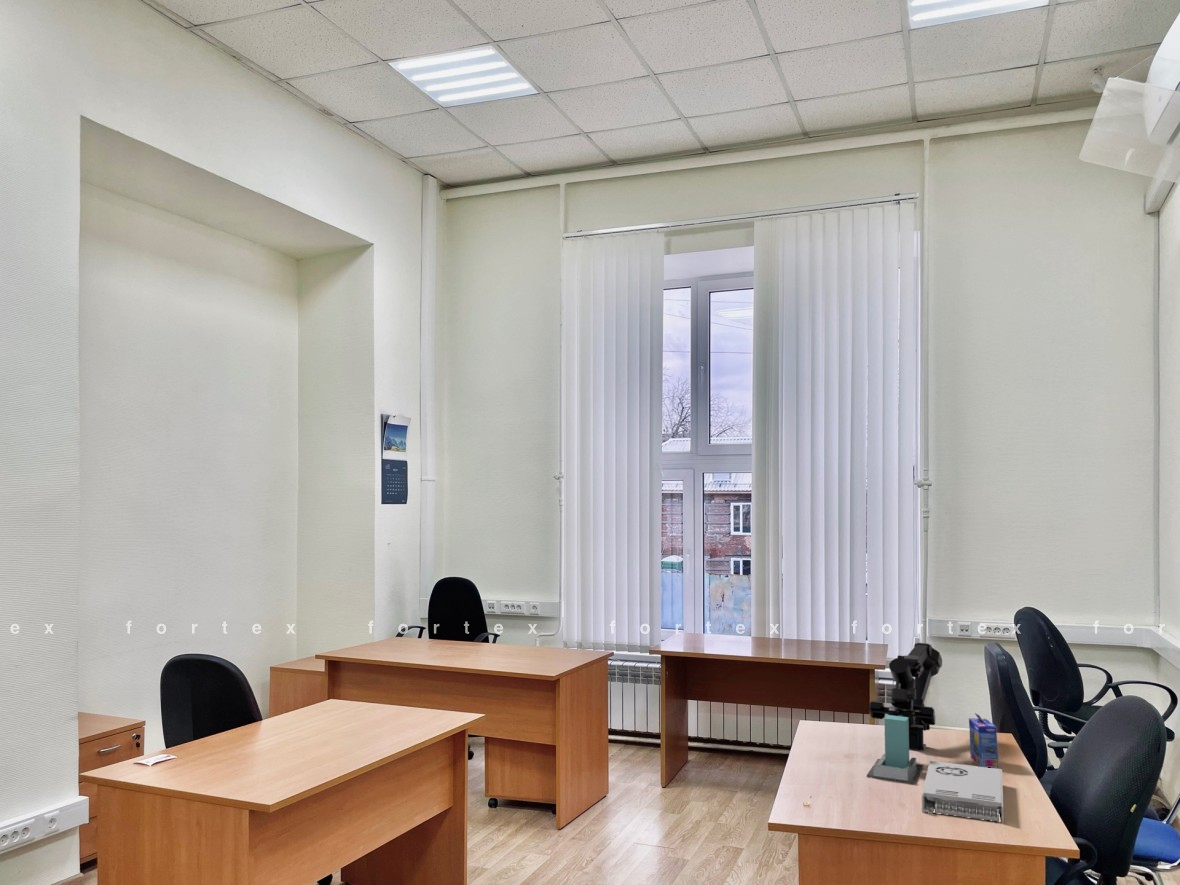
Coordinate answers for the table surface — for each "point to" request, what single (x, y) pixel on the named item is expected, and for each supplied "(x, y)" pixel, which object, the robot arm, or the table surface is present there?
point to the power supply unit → (963, 791)
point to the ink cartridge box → (983, 742)
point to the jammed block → (896, 741)
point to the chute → (896, 771)
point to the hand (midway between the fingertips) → (899, 737)
